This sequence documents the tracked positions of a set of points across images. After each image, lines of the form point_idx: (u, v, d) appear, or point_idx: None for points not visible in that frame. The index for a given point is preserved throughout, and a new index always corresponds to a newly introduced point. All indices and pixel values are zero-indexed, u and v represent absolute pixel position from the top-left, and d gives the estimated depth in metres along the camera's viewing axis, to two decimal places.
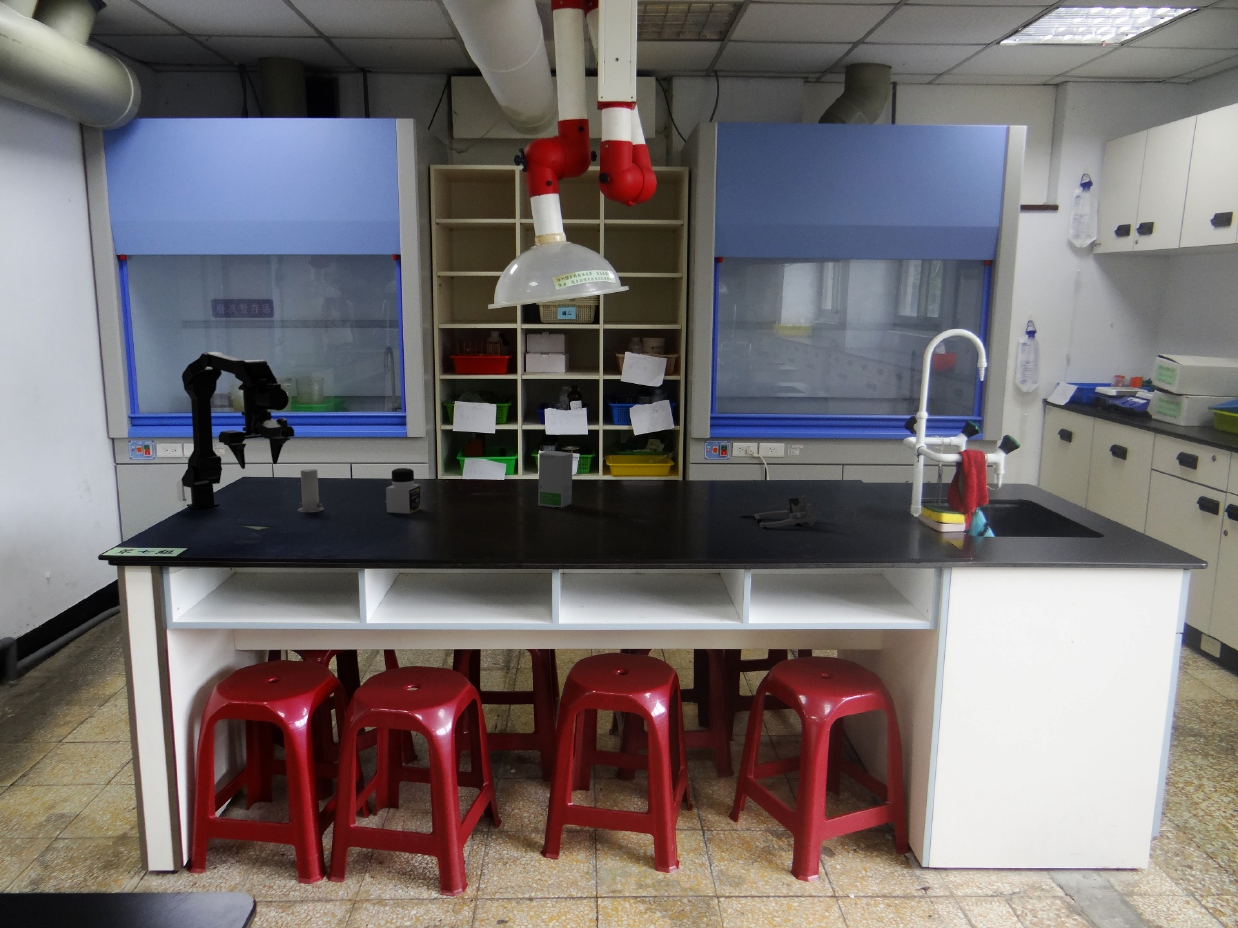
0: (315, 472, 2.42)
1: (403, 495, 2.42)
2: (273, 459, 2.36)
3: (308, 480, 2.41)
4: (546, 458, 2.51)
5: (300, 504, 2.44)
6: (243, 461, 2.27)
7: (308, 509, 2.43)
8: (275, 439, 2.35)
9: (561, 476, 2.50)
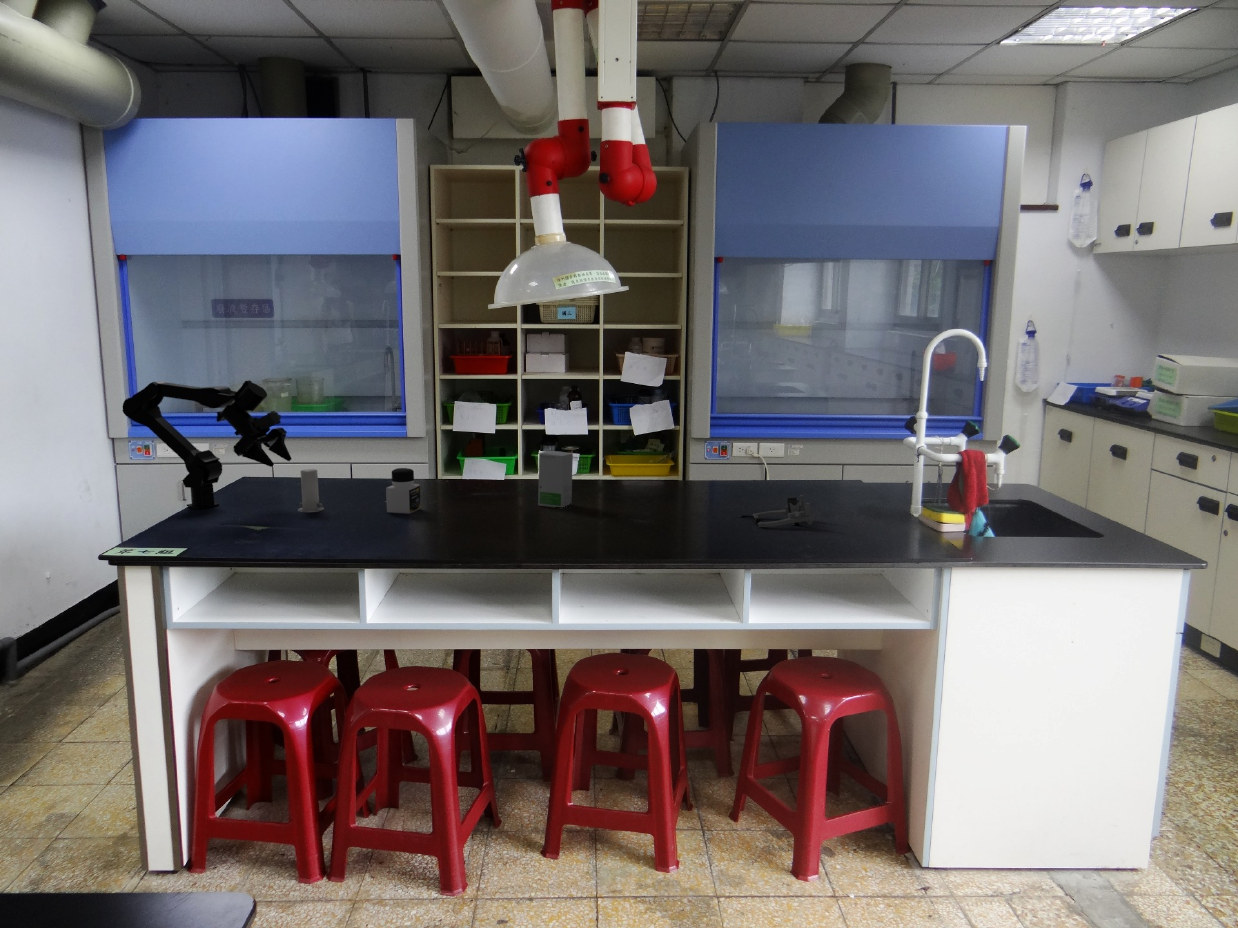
0: (315, 472, 2.42)
1: (403, 495, 2.42)
2: (286, 457, 2.48)
3: (308, 480, 2.41)
4: (546, 458, 2.51)
5: (300, 504, 2.44)
6: (268, 458, 2.39)
7: (308, 509, 2.43)
8: (275, 442, 2.49)
9: (561, 476, 2.50)
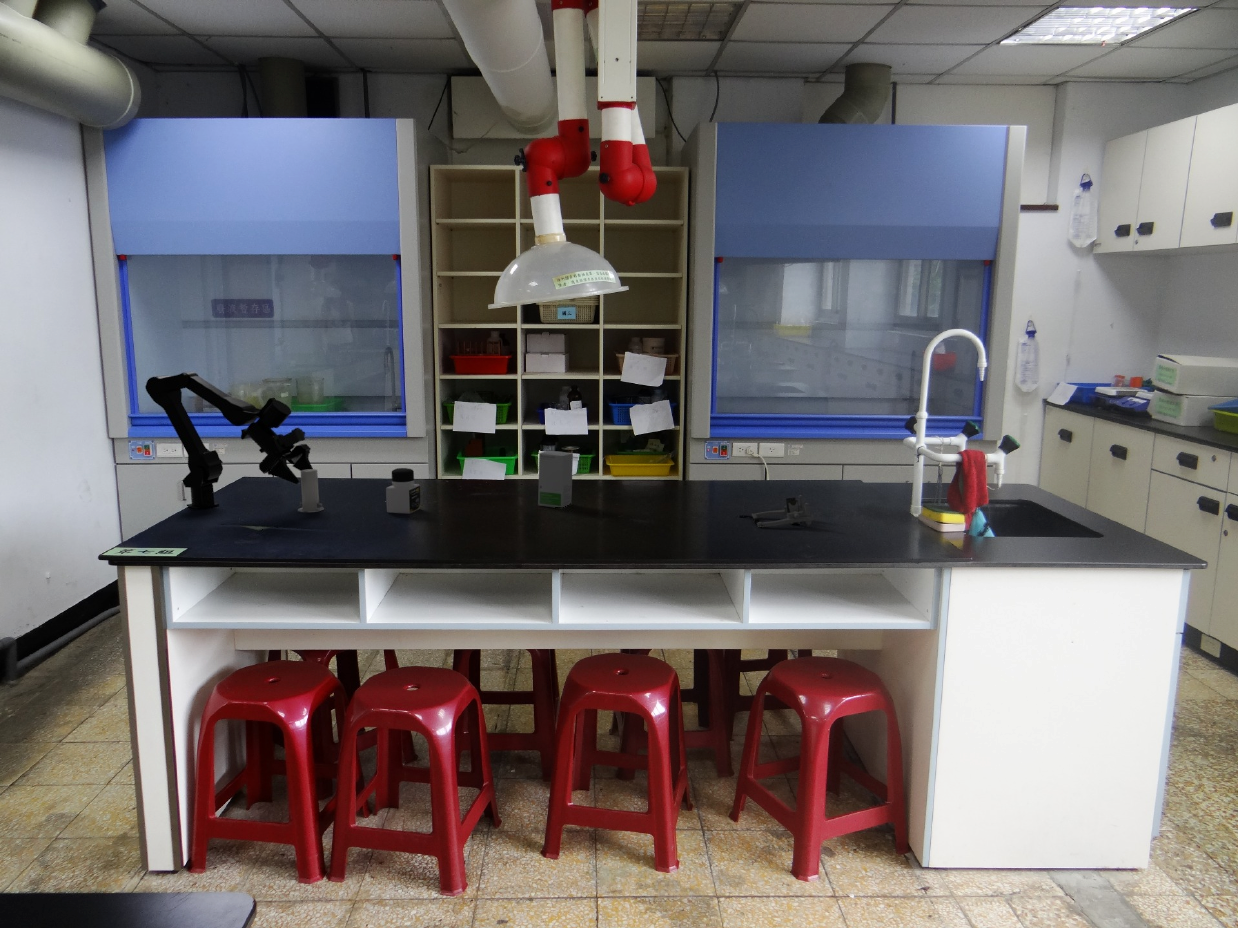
0: (315, 472, 2.42)
1: (403, 495, 2.42)
2: None
3: (308, 480, 2.41)
4: (546, 458, 2.51)
5: (300, 504, 2.44)
6: (294, 475, 2.38)
7: (308, 509, 2.43)
8: (299, 459, 2.48)
9: (561, 476, 2.50)
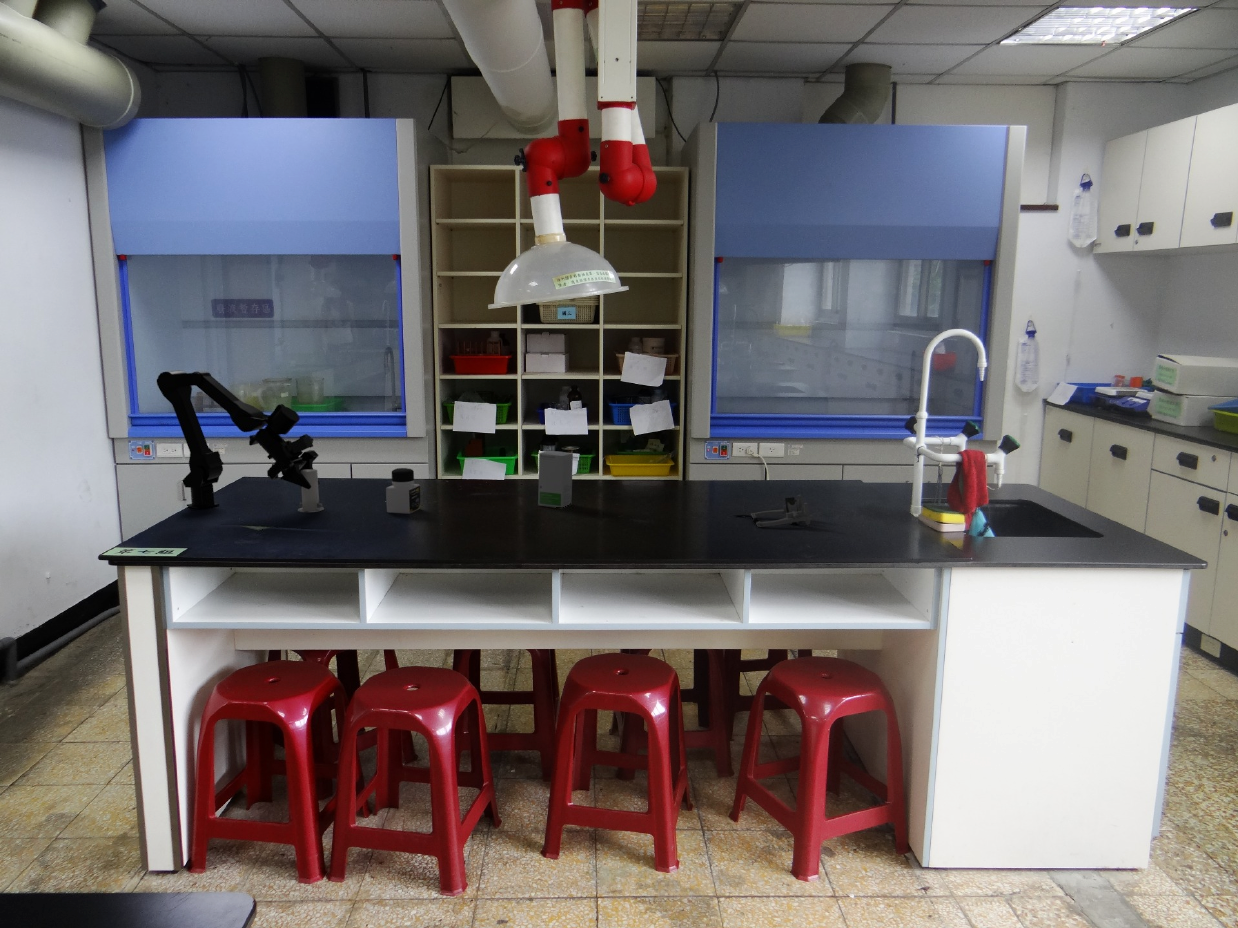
0: (315, 472, 2.42)
1: (403, 495, 2.42)
2: None
3: (308, 480, 2.41)
4: (546, 458, 2.51)
5: (300, 504, 2.44)
6: (306, 480, 2.41)
7: (308, 509, 2.43)
8: (303, 467, 2.46)
9: (561, 476, 2.50)
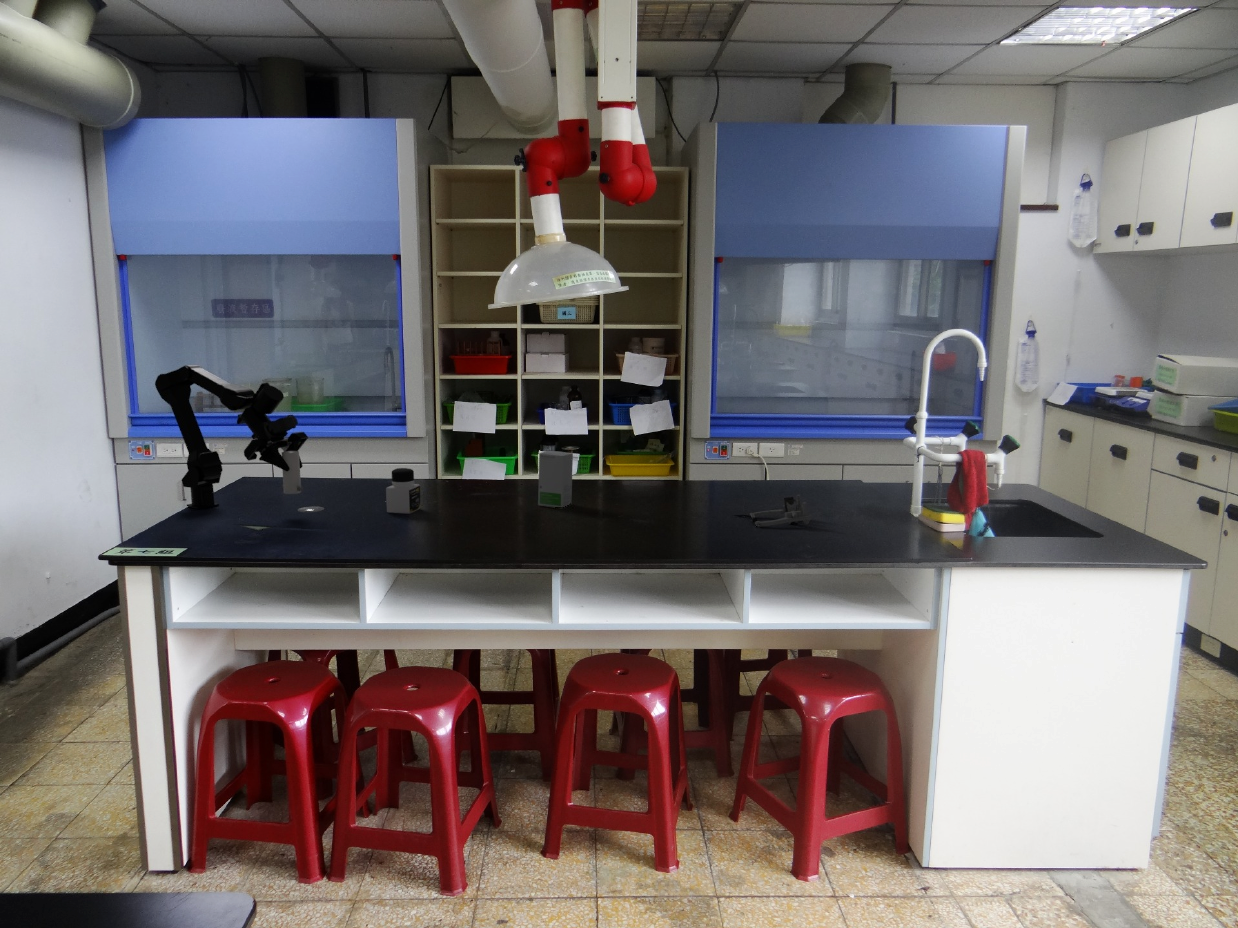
0: (295, 454, 2.33)
1: (403, 495, 2.42)
2: None
3: (287, 462, 2.33)
4: (546, 458, 2.51)
5: (282, 486, 2.37)
6: (284, 462, 2.32)
7: (287, 492, 2.34)
8: (288, 448, 2.38)
9: (561, 476, 2.50)
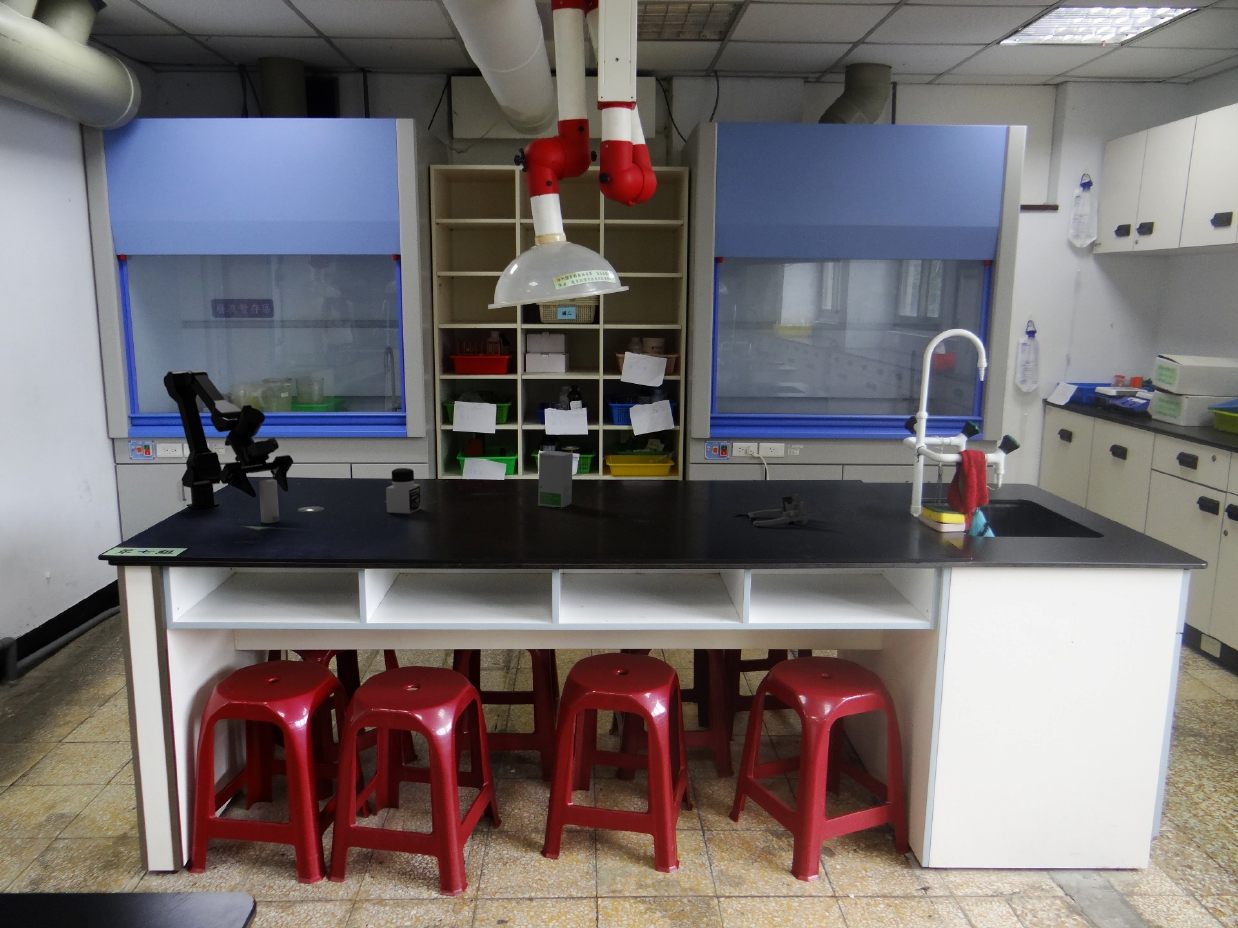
0: (271, 483, 2.28)
1: (403, 495, 2.42)
2: (283, 488, 2.33)
3: (262, 491, 2.27)
4: (546, 458, 2.51)
5: None
6: (251, 488, 2.25)
7: (263, 522, 2.29)
8: (277, 471, 2.35)
9: (561, 476, 2.50)
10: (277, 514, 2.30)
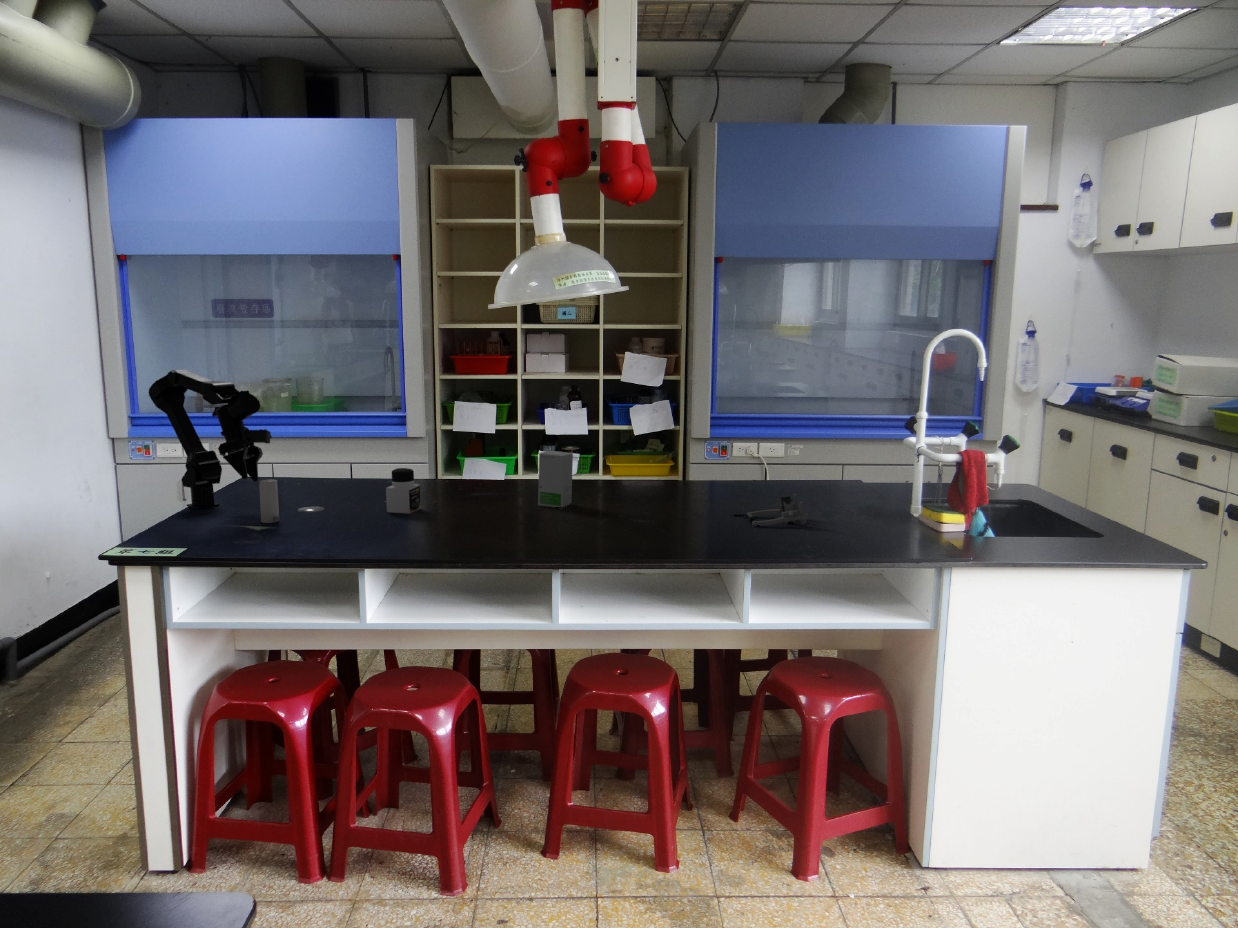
0: (271, 483, 2.28)
1: (403, 495, 2.42)
2: (253, 477, 2.42)
3: (263, 491, 2.27)
4: (546, 458, 2.51)
5: None
6: (246, 470, 2.32)
7: (263, 522, 2.29)
8: (249, 458, 2.43)
9: (561, 476, 2.50)
10: (277, 514, 2.30)
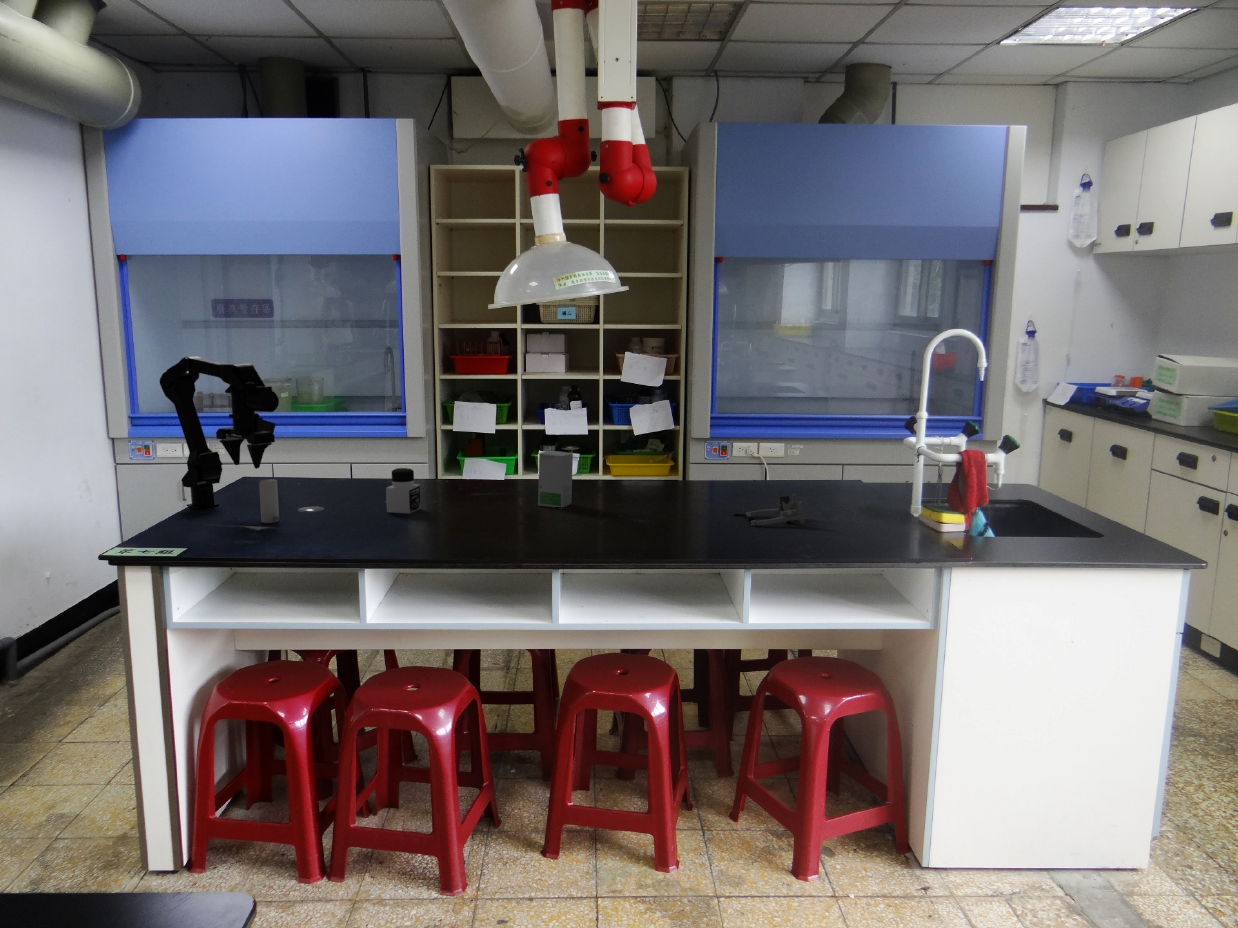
0: (271, 483, 2.28)
1: (403, 495, 2.42)
2: (236, 460, 2.42)
3: (263, 491, 2.28)
4: (546, 458, 2.51)
5: None
6: None
7: (263, 521, 2.29)
8: (234, 441, 2.42)
9: (561, 476, 2.50)
10: (277, 514, 2.30)
